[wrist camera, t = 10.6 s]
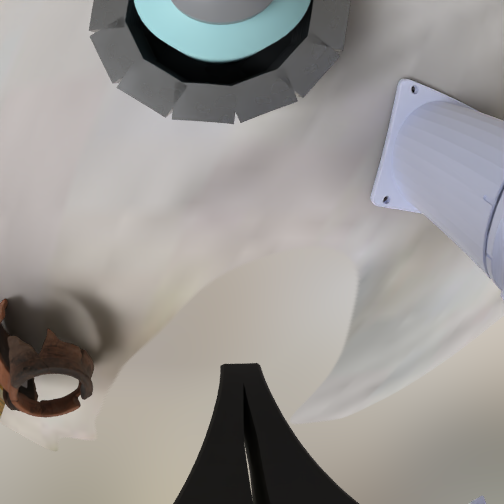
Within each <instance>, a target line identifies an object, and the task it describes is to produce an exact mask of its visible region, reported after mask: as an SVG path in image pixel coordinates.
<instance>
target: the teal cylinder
mask: <svg viewBox="0 0 504 504" xmlns="http://www.w3.org/2000/svg"><path fill="white" fill-rule="evenodd" d="M310 1H311V0H134V3H135V7H136V9H137V12H138V14H139V16H140V18H141V20H142V21H143V23H144V24H145V25H146V26H147V28H148V29H149V30H150V31H151V32H152V33H153V34H154V35H155V36H157V37H158V38H159V39H161V40H162V41H164V42H165V43H167V44H168V45H170V46H172V47H173V48H175V49H177V50H178V51H180V52H182V53H183V54H185V55H186V56H188V57H190V58H192V59H194V60H197V61H200V62H203V63H208V64H230V63H235V62H238V61H242V60H244V59H246V58H249V57H250V56H252V55H254V54H255V53H257V52H259V51H261V50H262V49H264V48H266V47H267V46H269V45H271V44H273V43H275V42H276V41H278V40H280V39H281V38H282V37H284V36H285V35H287V34H288V33H289V32H290V31H291V30H292V29H293V28H294V27H295V26H296V25H297V24H298V23H299V22H300V20H301V19H302V17H303V16H304V14H305V13H306V11H307V9H308V6H309V4H310Z"/></svg>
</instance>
